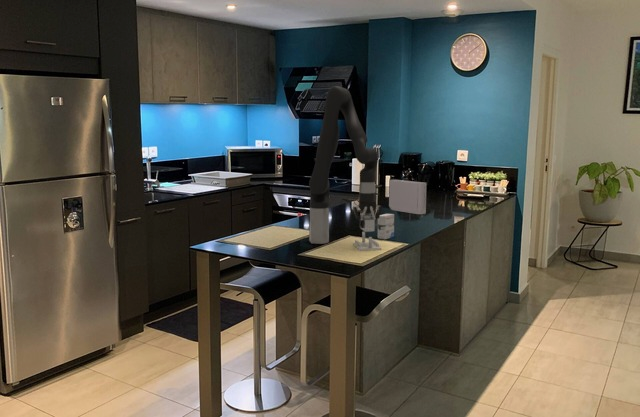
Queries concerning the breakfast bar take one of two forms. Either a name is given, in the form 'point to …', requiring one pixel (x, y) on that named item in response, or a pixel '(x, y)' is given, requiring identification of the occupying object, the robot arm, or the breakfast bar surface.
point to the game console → (407, 196)
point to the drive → (368, 223)
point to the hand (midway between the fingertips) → (367, 227)
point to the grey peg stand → (366, 244)
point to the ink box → (386, 226)
